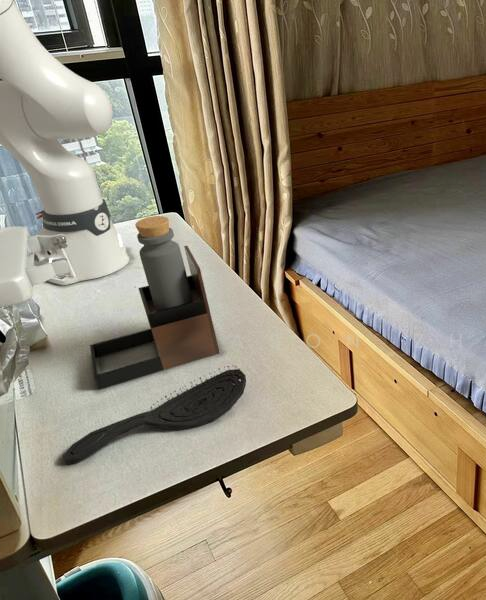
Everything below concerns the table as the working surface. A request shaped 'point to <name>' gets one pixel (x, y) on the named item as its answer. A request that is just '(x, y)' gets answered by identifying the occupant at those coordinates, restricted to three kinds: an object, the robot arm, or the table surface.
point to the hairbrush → (185, 408)
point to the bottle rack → (164, 335)
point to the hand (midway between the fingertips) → (67, 251)
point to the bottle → (163, 263)
